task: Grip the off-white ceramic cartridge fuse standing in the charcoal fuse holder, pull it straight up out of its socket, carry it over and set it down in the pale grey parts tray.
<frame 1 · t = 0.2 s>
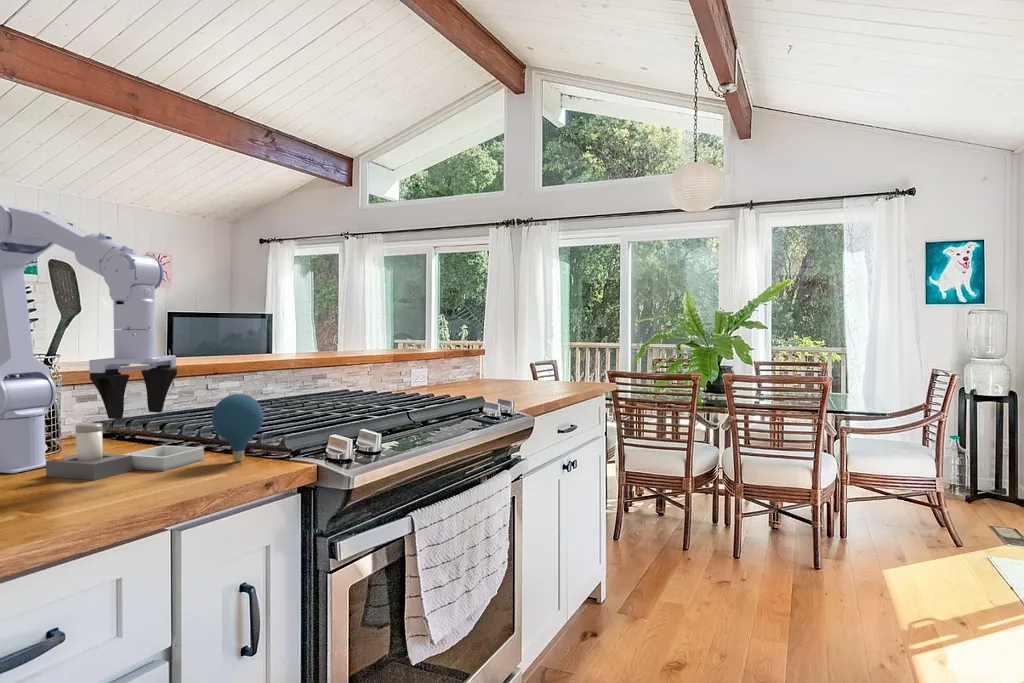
hand: (136, 415, 103), 10 cm above the countertop, fingers open, 7 cm apart
fuse holder: (90, 473, 106), on the countertop
fuse: (89, 449, 105), in the fuse holder
light bulb: (238, 462, 114), on the countertop
parts tray: (163, 463, 112), on the countertop
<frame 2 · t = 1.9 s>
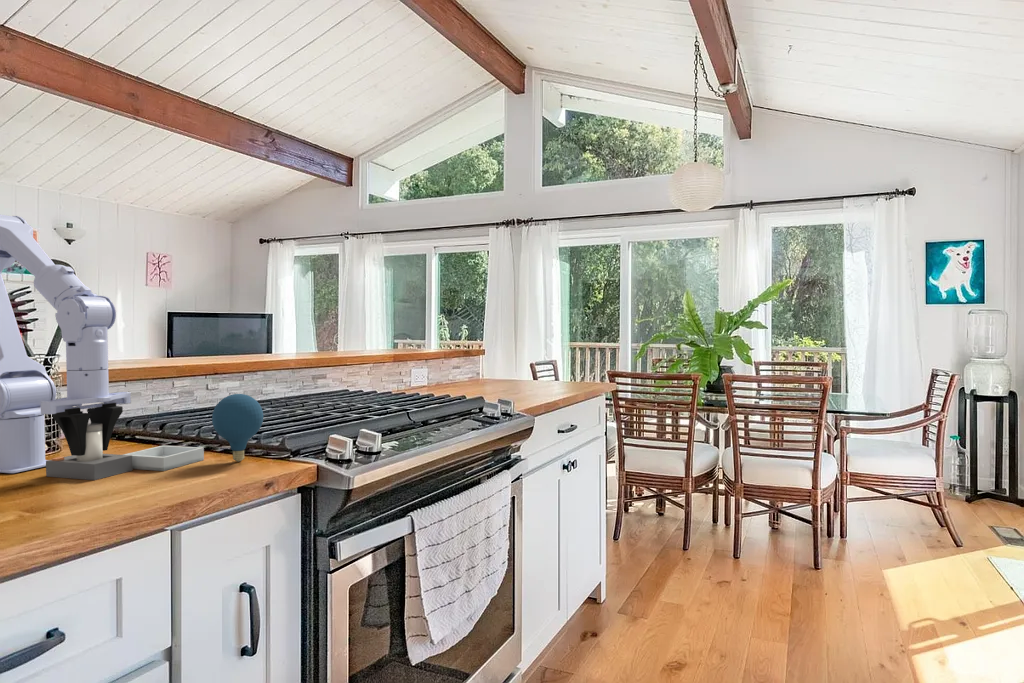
hand: (89, 452, 105), 3 cm above the countertop, fingers closed on fuse, 4 cm apart
fuse: (89, 449, 105), in the fuse holder, touching gripper
everything else where it was.
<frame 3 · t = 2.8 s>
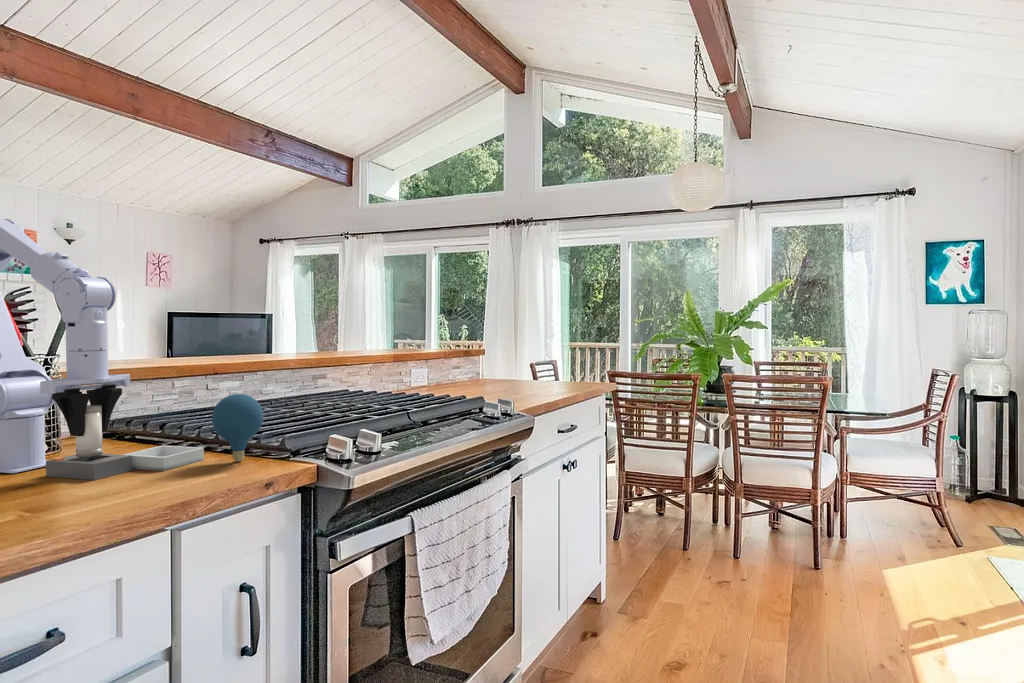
hand: (88, 433, 105), 7 cm above the countertop, fingers closed on fuse, 4 cm apart
fuse: (88, 430, 105), point 7 cm above the countertop, touching gripper
everything else where it was.
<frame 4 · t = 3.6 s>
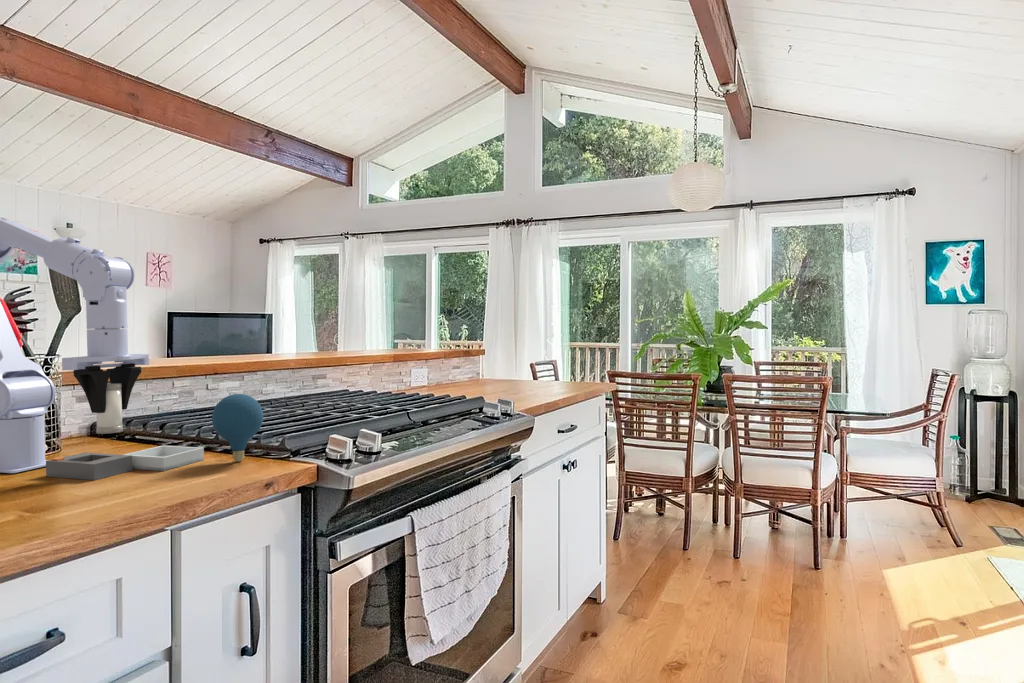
hand: (109, 411, 107), 10 cm above the countertop, fingers closed on fuse, 4 cm apart
fuse: (109, 407, 107), point 10 cm above the countertop, touching gripper
everything else where it was.
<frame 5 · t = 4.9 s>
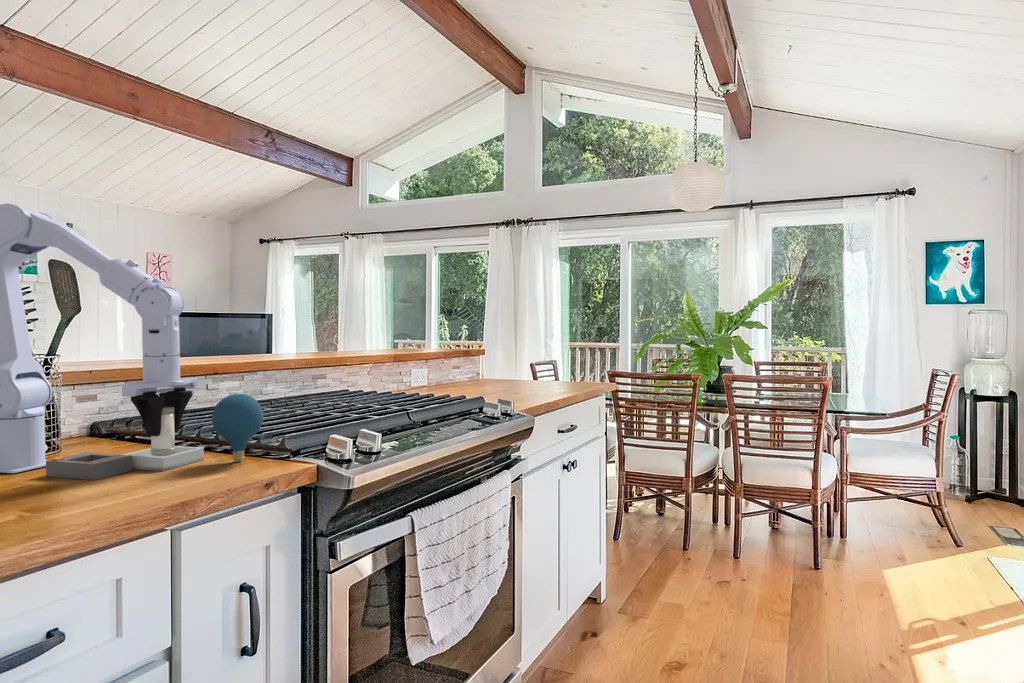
hand: (163, 433, 112), 5 cm above the countertop, fingers closed on fuse, 4 cm apart
fuse: (162, 430, 112), point 6 cm above the countertop, touching gripper
everything else where it was.
when the fingers open (4 cm above the countertop, at t = 5.5 s): fuse stays where it is, resting on parts tray.
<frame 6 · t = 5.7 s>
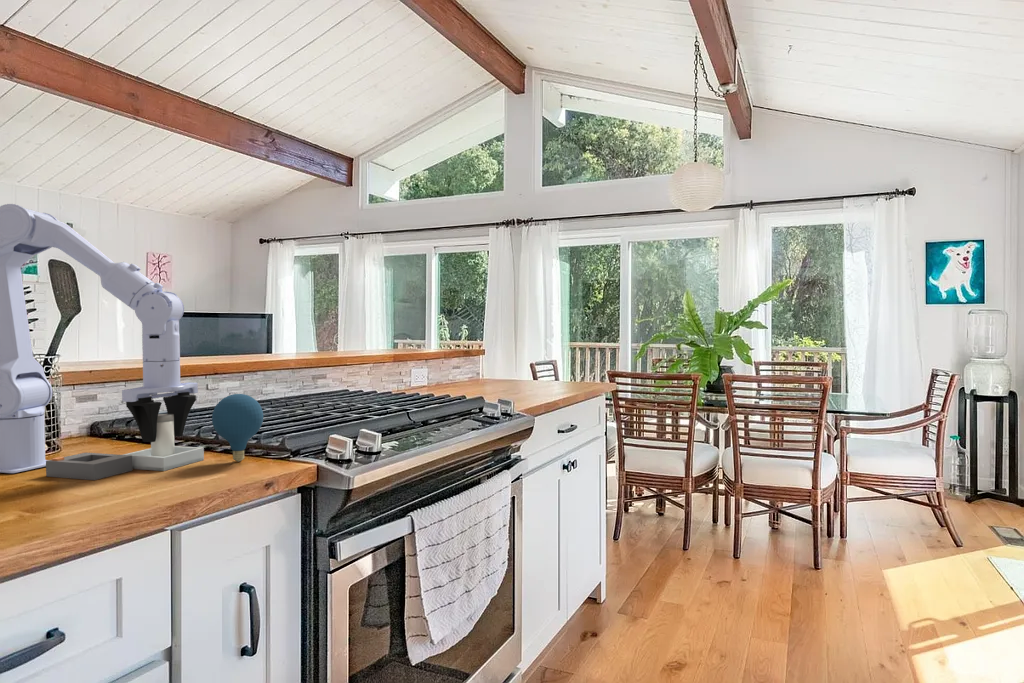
hand: (163, 438, 112), 4 cm above the countertop, fingers open, 5 cm apart
fuse: (162, 438, 112), in the parts tray
everything else where it was.
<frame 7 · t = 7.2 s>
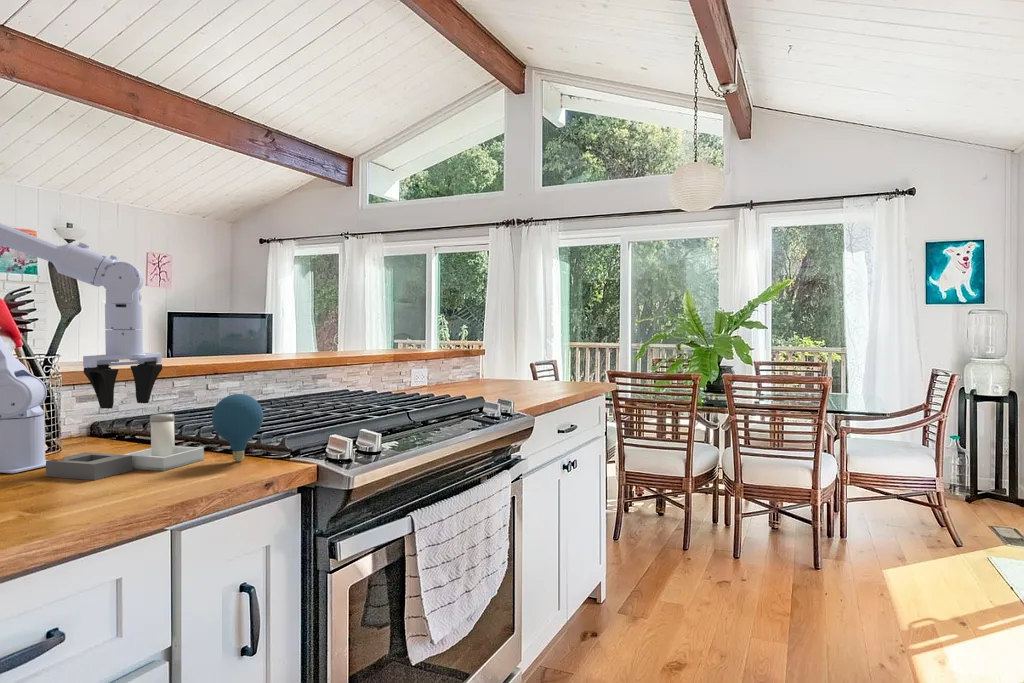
hand: (125, 405, 116), 10 cm above the countertop, fingers open, 7 cm apart
nothing on the countertop moved.
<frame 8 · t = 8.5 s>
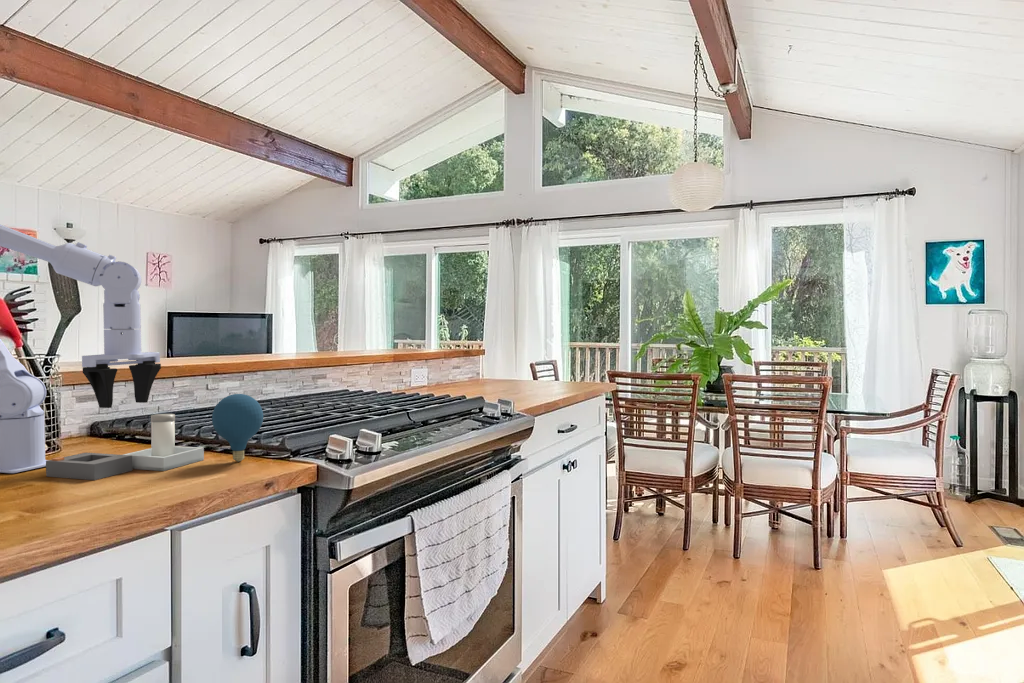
hand: (124, 405, 116), 10 cm above the countertop, fingers open, 7 cm apart
nothing on the countertop moved.
at the end: fuse inside the target area on the parts tray (0.1 cm from its centre), point 4.5 cm above the parts tray's base; fuse moved 10.8 cm from its start; the gripper is holding nothing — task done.
